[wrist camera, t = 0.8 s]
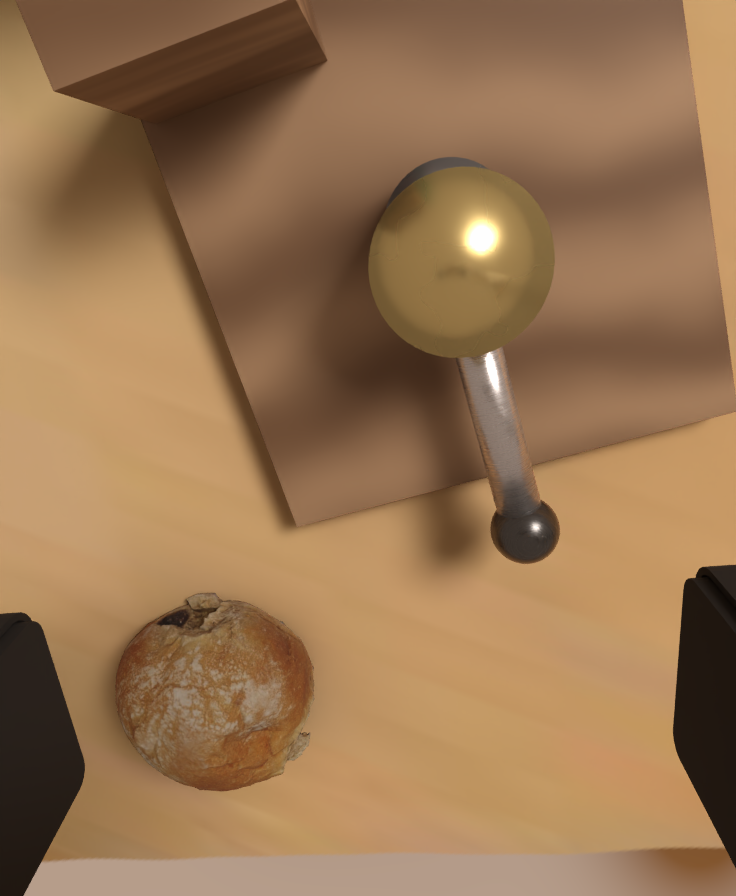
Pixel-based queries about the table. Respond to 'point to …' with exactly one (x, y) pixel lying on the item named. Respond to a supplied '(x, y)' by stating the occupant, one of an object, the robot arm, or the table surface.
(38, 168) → the table surface
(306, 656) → the bread roll
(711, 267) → the stand
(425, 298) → the lever
